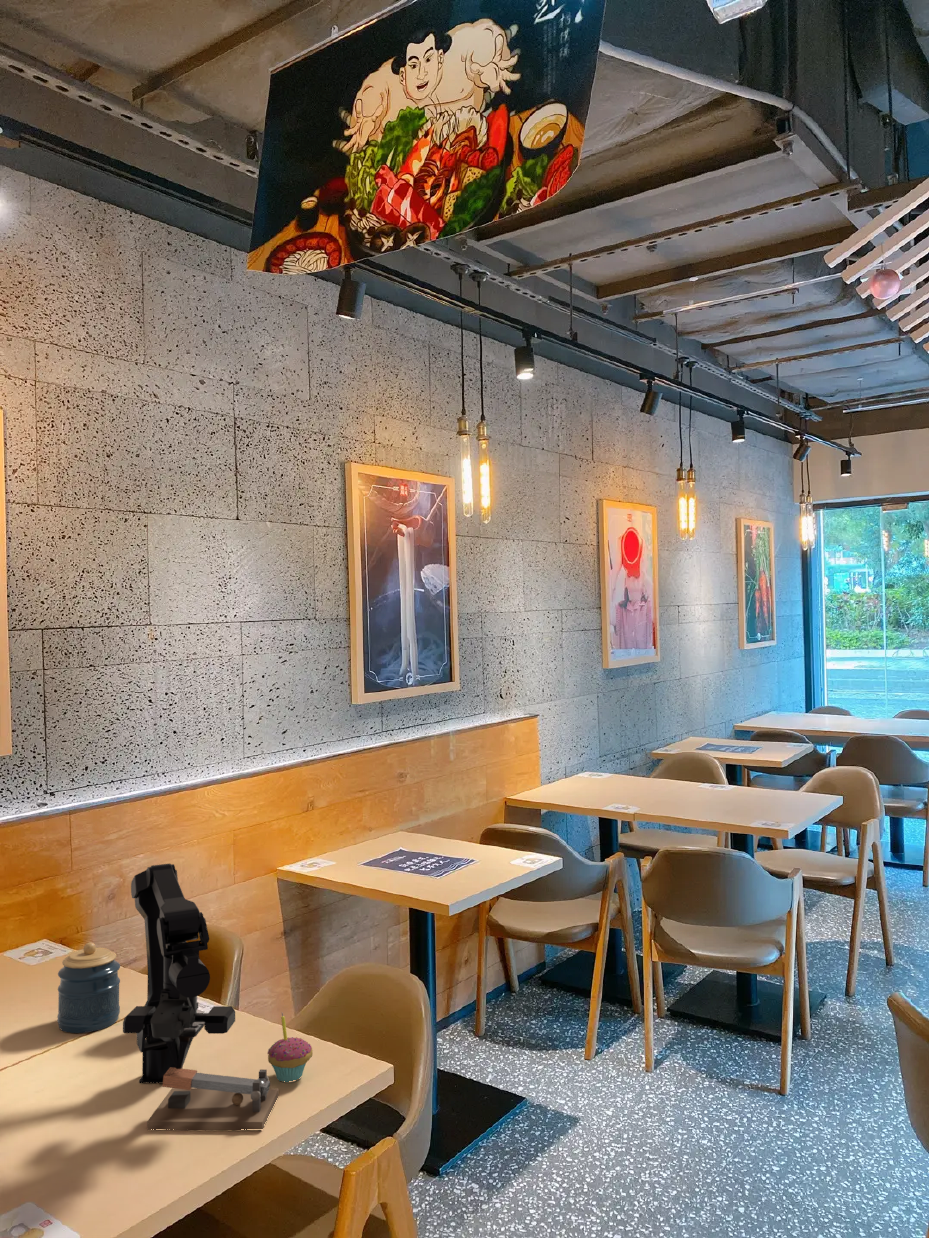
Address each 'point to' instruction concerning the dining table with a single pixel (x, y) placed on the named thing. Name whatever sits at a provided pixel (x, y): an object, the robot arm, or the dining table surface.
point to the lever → (211, 1082)
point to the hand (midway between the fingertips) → (179, 1067)
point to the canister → (88, 990)
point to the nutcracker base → (214, 1109)
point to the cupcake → (289, 1056)
